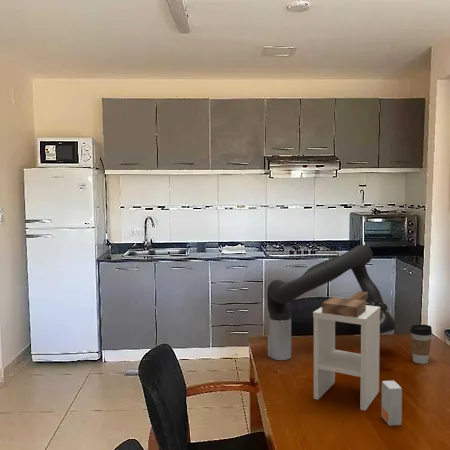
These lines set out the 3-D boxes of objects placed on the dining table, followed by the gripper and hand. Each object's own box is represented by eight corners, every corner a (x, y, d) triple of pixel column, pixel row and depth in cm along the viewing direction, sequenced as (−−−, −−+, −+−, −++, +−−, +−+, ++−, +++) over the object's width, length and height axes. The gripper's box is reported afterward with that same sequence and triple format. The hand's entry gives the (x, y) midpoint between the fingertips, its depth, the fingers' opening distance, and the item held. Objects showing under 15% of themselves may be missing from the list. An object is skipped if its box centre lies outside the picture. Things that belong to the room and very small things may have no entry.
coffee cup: (433, 365, 199) (434, 329, 198) (411, 364, 201) (412, 328, 200) (429, 358, 207) (429, 323, 206) (408, 357, 209) (408, 323, 208)
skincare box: (380, 416, 157) (381, 380, 156) (393, 416, 157) (394, 380, 156) (388, 426, 151) (389, 388, 150) (402, 425, 151) (402, 387, 150)
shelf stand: (313, 399, 170) (313, 312, 168) (331, 381, 185) (331, 300, 183) (364, 411, 161) (365, 319, 158) (379, 391, 176) (380, 306, 173)
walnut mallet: (322, 312, 166) (322, 302, 166) (347, 296, 190) (347, 287, 189) (356, 317, 160) (356, 307, 160) (379, 299, 183) (379, 290, 183)
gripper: (358, 302, 205) (347, 290, 193) (393, 306, 198) (384, 294, 185) (355, 320, 203) (344, 308, 190) (390, 325, 195) (381, 313, 182)
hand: (364, 301), depth 188 cm, fingers open, 8 cm apart
